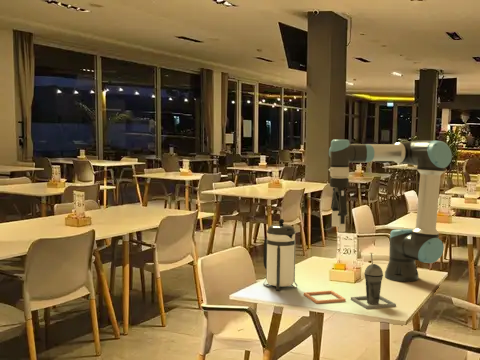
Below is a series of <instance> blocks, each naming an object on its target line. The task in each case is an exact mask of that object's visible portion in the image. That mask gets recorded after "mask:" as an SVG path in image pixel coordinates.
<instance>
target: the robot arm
mask: <svg viewBox="0 0 480 360" xmlns="http://www.w3.org/2000/svg"><path fill="white" fill-rule="evenodd" d="M452 155H453V154H452V150H451V147H450V146H449V145H448V144H447V143H446V142H444V141H441V140H435V139H434V140H421V139H420V140H419V139H417V140H410V141H400V142H399V141H398V142H395V143H393V144H392V143H391V144H390V143H388V144H385V143H383V144H382V143H381V144H379V143H378V144H376V143H362V144H361V143H350V140H349V139H332V140H331V141H330V147H329V149H328V156H329V158H330V159H329V161H330V162H329V163H330V164H329V166H330V168H329V169H328V171H329V172H330V173H329V176H330V178H329V187H331V188H332V196H331V202H330V203H331V204H330V209H331V227H338V228H337V230H338V231H337V232H338V233H345V232H346V221H347V219H346V217H347V215H348V209H347V197H346V195H347V191H346V190H344V188H349V185H350V184H349V183H350V182H349V181H350V180H349V179H350V178H349V176H350V163H357V164H358V163H364V164H365V163H370V162H394V164H395V163H396V164H405V165H411V166H417V167H416V170H417V172H418V173H419V185H418V197H417V198H418V199H417V209H416V220H415V227H414V228H399V229H398V228H397V229H392V230H391V231H390V233H389V234H390V235H389V258H388V259H389V261H388V263H387V267H385V268H386V269H385V271H384V277H385V278H386V279H387V280H391V281H397V282H416V281H418V280H419V271H418V267H417V265H416V261H418V262H421V263H424V264H425V263H427V264H434V263H436V262H437V261H439V259H440V258H441V257H442V255H443V253H444V250H445V249H444V248H445V247H444V243H443V241H442V239H440V232H439V231H438V230H437V221H438V220H437V219H438V210H439V209H438V208H439V197H440V185H441V176H442V174H444V173H445V170H446V168H447V167H448V166H450V163H451V162H452V157H453V156H452Z"/></svg>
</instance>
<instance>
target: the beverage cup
mask: <svg viewBox="0 0 480 360" xmlns="http://www.w3.org/2000/svg"><path fill="white" fill-rule="evenodd" d="M370 259H371V264H369V265H368V266H366V268H365V271H364V273H363V274H364V280H365V291H366V292H365V293H366V295H365V296H367V299H366V304H368V305H380V304H379V302H380V299H379V298H380V296H381V289H382V280H383V278H384V274H383V273H384V272H383V270H382V267H381V266H380V265H379V264H376V263H374V261H373V253H372V252H370Z"/></svg>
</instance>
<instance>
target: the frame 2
mask: <svg viewBox="0 0 480 360" xmlns="http://www.w3.org/2000/svg"><path fill="white" fill-rule="evenodd" d="M350 300H351V301H353V302H354V303H356V304H357V305H359V306H361V307H362V308H364V309H366V310H368V309H370V310H372V309H380V308H394V307H396V306H397V303H395V302H393V301H391V300H390V299H388V298H385V297H384V296H381V295H380V298H379V300H381V302H382V301H383V302H384V303H382V304H376V305H372V304H368V305H367V303H364V302H362V301H361V300H367V296H366V295H362V296H350Z"/></svg>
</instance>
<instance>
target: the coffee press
mask: <svg viewBox="0 0 480 360" xmlns="http://www.w3.org/2000/svg"><path fill="white" fill-rule="evenodd" d="M284 222H285V221H284V219H283V218H280V219H279V220H278V223H275V224H271V225H269V226H268V227H267V230H266V235H267V236H266V237H265V239H264V241H263V267H264V269H265V272H266V273H265V274H266V276H265V281H264V282H263V286H264V287H266V286H268V285H270V286H274V287H276V288H275V291H276V292H277V291H278V292H280V290H281V287H289V286H291V287H293V288H294V289H297V287H298V284H297V283H296V233H297V230H296V229H295V227H294V226H292V225H290V224H286V223H284ZM265 283H267V284H265ZM294 285H295V286H294Z"/></svg>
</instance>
